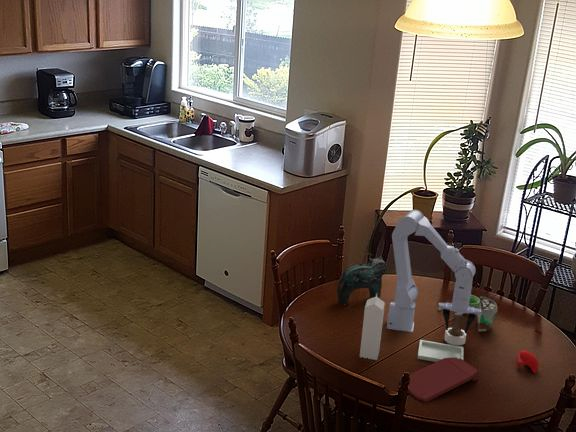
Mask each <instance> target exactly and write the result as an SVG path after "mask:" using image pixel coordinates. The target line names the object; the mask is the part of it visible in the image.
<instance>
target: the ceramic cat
mask: <svg viewBox="0 0 576 432" xmlns="http://www.w3.org/2000/svg"><path fill="white" fill-rule="evenodd" d="M367 256H371V258H370V257H368V260H369V261H368V263H367V264H365V263H359V262H355V263H351V264H348V265H347V266H346V267H345V268H344V270H343V272H342V273H341V275H340V278H339V279H338V282H337V288H336V289H337V303H338V304H339V305H340V306H341V305H344V304H348V305H349V299H350V296H351V294H352V293H353V292H354V291H356V290H360V289H368V292H369V299H371V298H374V297H376V294H377V297H378V298H379V299H381V292H382V284H383V283H382V281H383V279H382V277H383V276H384V275H385V273H386V271H387V263H386V262H385V261H384V260H383V256H382V255H380V256H379V257H377V258H374V257H373V254H372V253H366V254H364V256H363V258H366V257H367ZM344 306H345V305H344Z"/></svg>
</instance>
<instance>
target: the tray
mask: <svg viewBox="0 0 576 432" xmlns="http://www.w3.org/2000/svg"><path fill="white" fill-rule="evenodd" d="M464 350H465V349H464V346H461V345H452V344H449V343H442V342H436V341H429V340H426V339H425V340H424V339H419V346H418V350H417V351H418V352H417V360H422V361H428V362H433V363H435V362H437V361H439V360H442V359H444V358H454V357H457V358H458V359H459V358H461V359H462V360H464Z"/></svg>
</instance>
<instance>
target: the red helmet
mask: <svg viewBox="0 0 576 432" xmlns="http://www.w3.org/2000/svg"><path fill="white" fill-rule="evenodd" d="M515 360H516V365H517V368H518V370H521V366H523V365H524V366H527V367H529V368H530V369H531V372H533V374H537V373H538V371H539V361H538V359H537V357H536V356H535V354H534V353H532V352H530V351H528V350H524V349H523V350H520V351H519V353H518V354H517V356H516V359H515Z"/></svg>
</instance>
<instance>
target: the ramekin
mask: <svg viewBox="0 0 576 432" xmlns="http://www.w3.org/2000/svg"><path fill="white" fill-rule="evenodd" d="M479 300H480V297H478V296H476V295H472V294H471V295H470V301H469V306H470V307H474V308H477V309H478V308H479Z"/></svg>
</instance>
